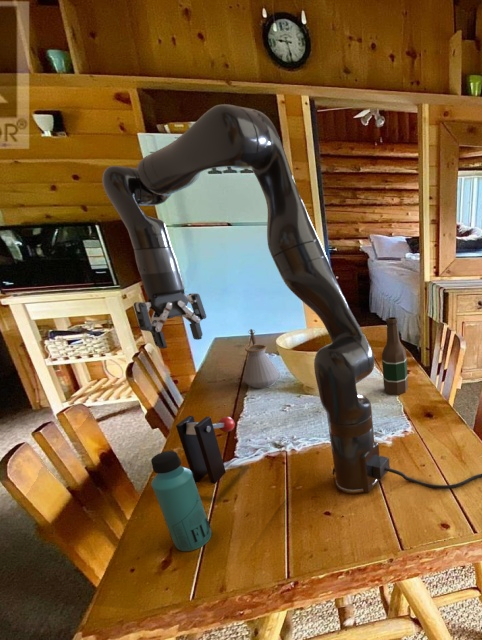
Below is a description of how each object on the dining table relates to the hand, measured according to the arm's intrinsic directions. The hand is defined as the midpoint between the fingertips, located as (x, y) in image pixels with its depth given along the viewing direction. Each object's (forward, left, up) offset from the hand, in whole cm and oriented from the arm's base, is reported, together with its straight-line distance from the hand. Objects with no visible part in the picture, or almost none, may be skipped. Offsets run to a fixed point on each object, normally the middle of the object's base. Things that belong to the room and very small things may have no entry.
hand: (181, 343), depth 101 cm
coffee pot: (+18, -39, -28) cm, 51 cm away
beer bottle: (-30, -47, -28) cm, 62 cm away
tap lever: (-12, +8, -18) cm, 22 cm away
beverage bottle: (-26, +28, -28) cm, 47 cm away
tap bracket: (-13, +12, -28) cm, 33 cm away
